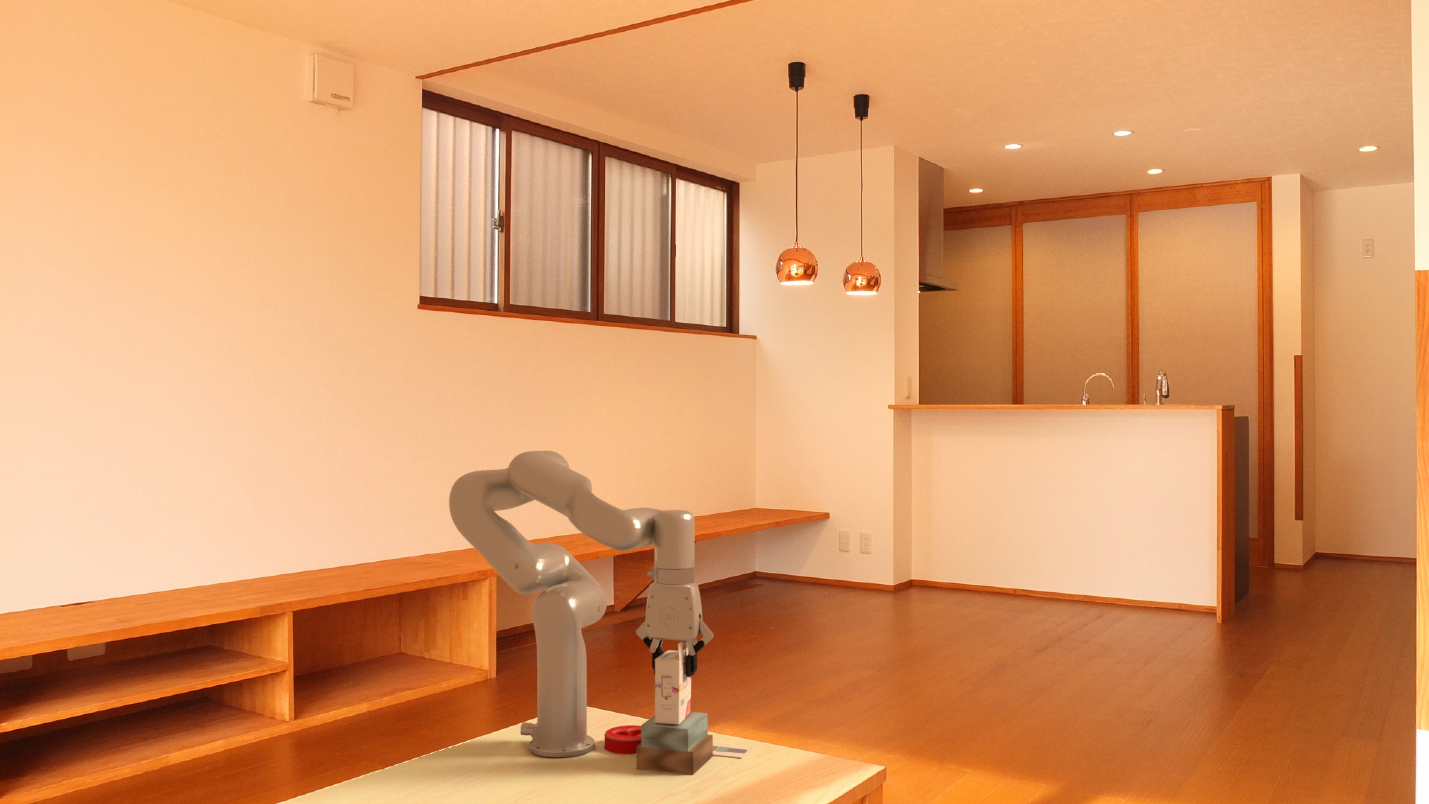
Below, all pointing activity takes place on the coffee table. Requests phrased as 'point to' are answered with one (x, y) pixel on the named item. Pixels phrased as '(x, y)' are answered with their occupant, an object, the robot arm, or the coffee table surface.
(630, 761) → the coffee table surface
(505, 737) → the coffee table surface
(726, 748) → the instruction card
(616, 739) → the decorative ornament
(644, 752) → the pedestal
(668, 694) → the ink cartridge box
